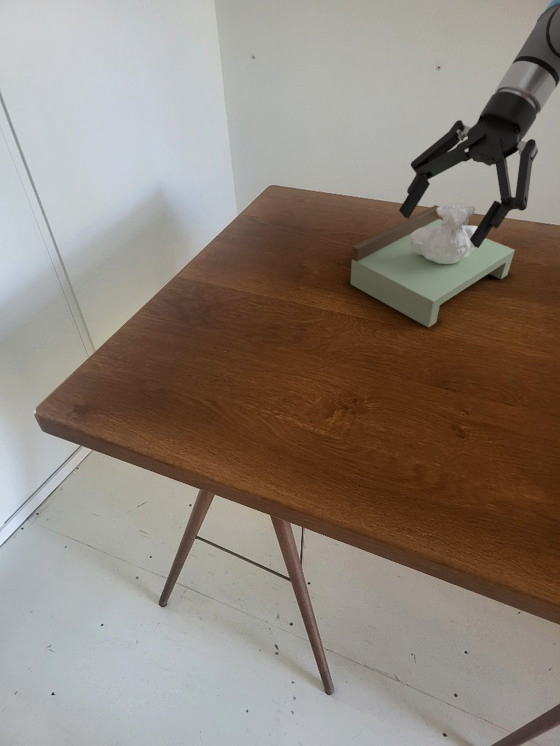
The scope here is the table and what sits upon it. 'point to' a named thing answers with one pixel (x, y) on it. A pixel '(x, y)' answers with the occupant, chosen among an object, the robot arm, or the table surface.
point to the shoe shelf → (420, 269)
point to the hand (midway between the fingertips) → (437, 228)
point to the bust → (446, 236)
